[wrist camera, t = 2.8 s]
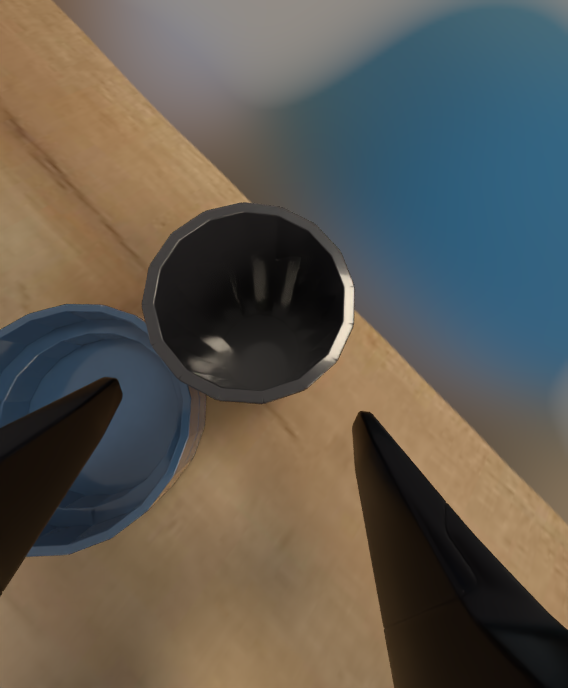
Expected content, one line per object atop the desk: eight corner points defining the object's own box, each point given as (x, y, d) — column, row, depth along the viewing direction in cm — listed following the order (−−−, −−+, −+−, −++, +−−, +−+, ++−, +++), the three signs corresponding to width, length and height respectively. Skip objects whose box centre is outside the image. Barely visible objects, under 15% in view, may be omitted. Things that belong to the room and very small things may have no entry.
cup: (313, 378, 20) (385, 363, 8) (232, 405, 19) (172, 435, 7) (287, 303, 21) (315, 184, 9) (209, 325, 20) (122, 229, 8)
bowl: (229, 472, 18) (217, 498, 14) (29, 545, 17) (-56, 602, 12) (182, 302, 20) (159, 278, 16) (1, 352, 19) (-80, 341, 14)
